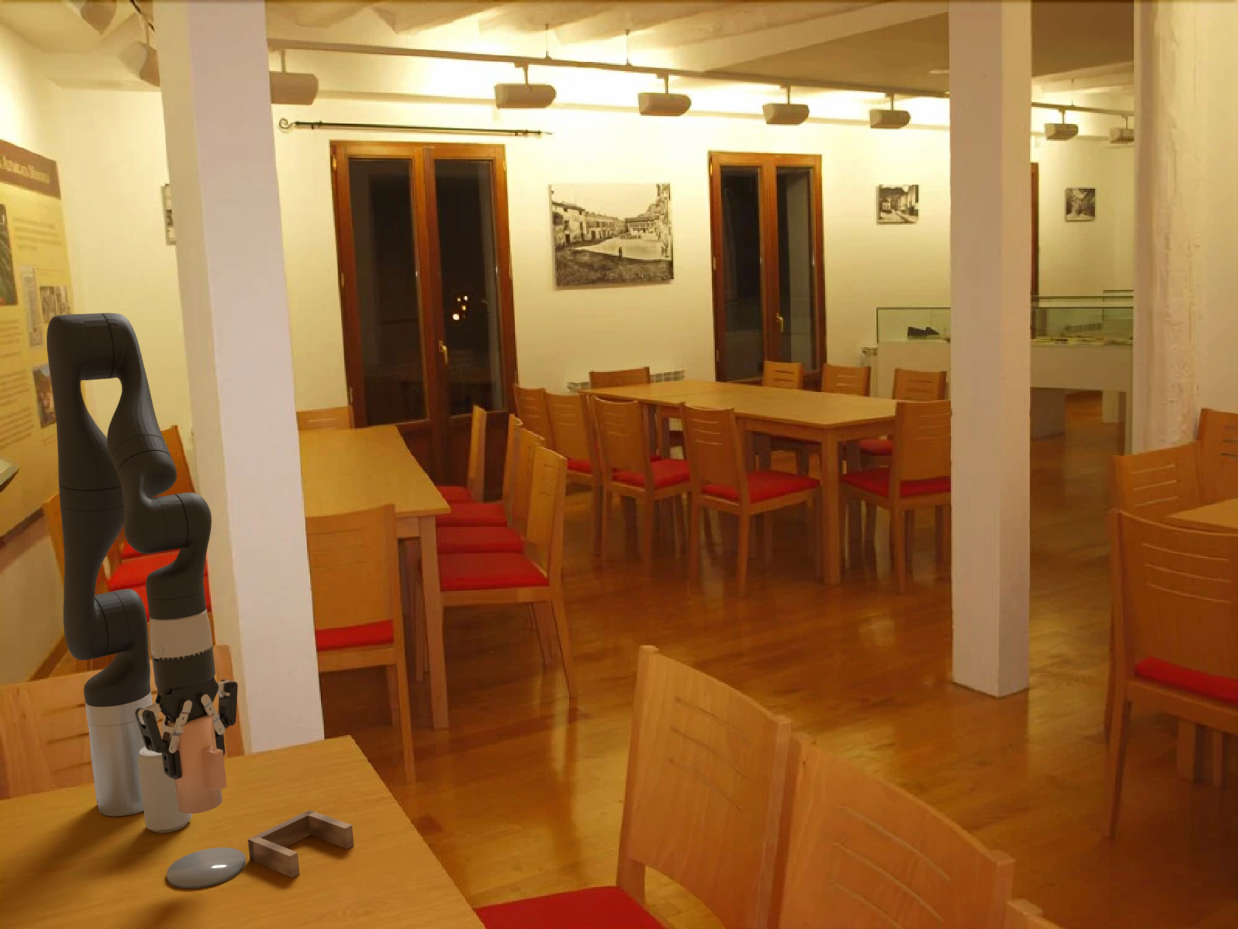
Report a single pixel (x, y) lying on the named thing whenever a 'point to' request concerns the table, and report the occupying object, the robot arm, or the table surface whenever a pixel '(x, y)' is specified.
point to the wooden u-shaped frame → (274, 840)
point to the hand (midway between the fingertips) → (195, 768)
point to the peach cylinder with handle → (199, 767)
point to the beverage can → (159, 795)
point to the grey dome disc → (206, 868)
